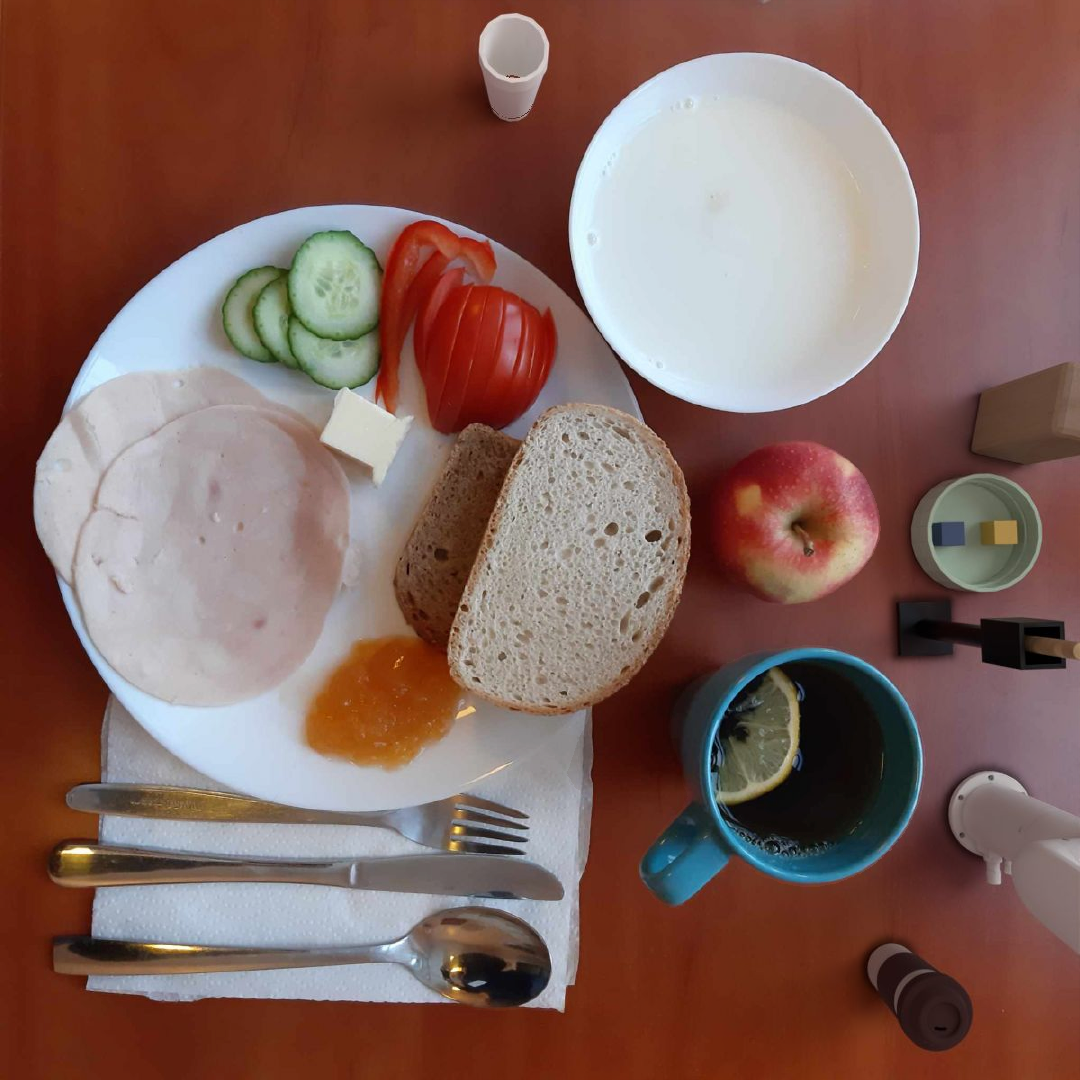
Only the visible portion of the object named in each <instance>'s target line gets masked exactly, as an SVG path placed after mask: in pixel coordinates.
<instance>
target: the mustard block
mask: <svg viewBox="0 0 1080 1080" xmlns="http://www.w3.org/2000/svg"><path fill="white" fill-rule="evenodd" d="M980 524H981V545H1005V544H1018V541H1017V520H1009V521H986V522H980Z"/></svg>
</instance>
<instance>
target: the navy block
mask: <svg viewBox="0 0 1080 1080" xmlns="http://www.w3.org/2000/svg"><path fill="white" fill-rule="evenodd" d="M931 528H932V543H933V546H963V545H965V528H964V522H937V523H932V527H931Z"/></svg>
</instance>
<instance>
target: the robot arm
mask: <svg viewBox="0 0 1080 1080" xmlns="http://www.w3.org/2000/svg"><path fill="white" fill-rule="evenodd" d="M947 813H948V815H947V816H948V823H949V827H950V830H951V832H952V834H953V835H954V837H955V839H956V840H957V841H958V842H959V844H960V845H961V846H962V847H963V848H965V849H966V850H968V851H970V852H971V853H973V854H975V855H978V856H980V857H982V858H983V859H982V860H983V861H984V862H985V863H986V864H985V865H986V869H985V874H986V875H985V878H986V883H987V884H990V885H995V886H996V885H997V886H998V885H1001V884H1002V871H1001V863H1003V860H1004V864H1003V867H1004V869H1003V870H1004V872H1003V873H1004V874H1005V875H1009V876H1011V881H1012V885H1013V887H1014V890H1015V892H1016V894H1017V896H1018V898H1019V900H1020V901H1021V903H1022V905H1023V906H1024V907H1025V908H1026V910H1027V911H1028V912H1029V913H1030V914H1031V915H1032V917H1034V918H1035V919H1036V920H1037V921H1038V922H1039V923H1040V924H1041V925H1042V926H1043V927H1044V928H1046V929H1047V930H1048V932H1051V933H1052V934H1053V935H1054V936H1055V937H1057V939H1059V940H1060V941H1061V942H1063V943H1064V944H1065V945H1066V946H1068V948H1070V949H1071V950H1072V951H1074V952H1075V953H1076V954H1077V955H1079V956H1080V817H1079V816H1077V815H1074V814H1072V813H1070V812H1068V811H1066V810H1064V809H1061V808H1058V807H1057V806H1054V805H1052V804H1049V803H1047V802H1044V801H1043V800H1039V799H1037V798H1035V797H1033V796H1031V795H1029V794H1028V793H1027V791H1026V789H1025V787H1023V786H1022V784H1021V783H1020V782H1018V781H1017V780H1016V779H1015V778H1013V777H1011V776H1009V775H1007V774H1005V773H1002V772H1000V771H995V770H984V771H979V772H975V773H973V774H971V775H969V776H968V777H966V778H965V779H963V780H962V781H961V782H960V783H959V784H958V785H957V786H956V788H955V790H954V791H953V793H952V795H951V798H950V801H949V805H948V812H947Z"/></svg>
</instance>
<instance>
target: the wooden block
mask: <svg viewBox="0 0 1080 1080" xmlns="http://www.w3.org/2000/svg"><path fill="white" fill-rule="evenodd" d="M971 451H972V452H973V453H974V454H977V455H981V456H985V457H990V458H994V459H1000V460H1004V461H1008V462H1012V463H1017V464H1021V465H1027V466H1029V465H1034V464H1039V463H1044V462H1045V463H1046V462H1051V461H1056V460H1061V459H1067V458H1073V457H1079V456H1080V363H1079V362H1075V361H1071V360H1070V361H1064V362H1063V363H1059V364H1056V365H1054V366H1050V367H1047V368H1045V369H1042V370H1039V371H1036V372H1033V373H1030V374H1027V375H1024V376H1021V377H1019V378H1016V379H1013V380H1011V381H1010V380H1009V381H1007V382H1004V383H1001V384H999V385H995V386H992V387H989V388H987V389H985V390H983V391H982V392H981V394H980V398H979V402H978V409H977V413H976V419H975V425H974V430H973V436H972V441H971Z"/></svg>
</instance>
